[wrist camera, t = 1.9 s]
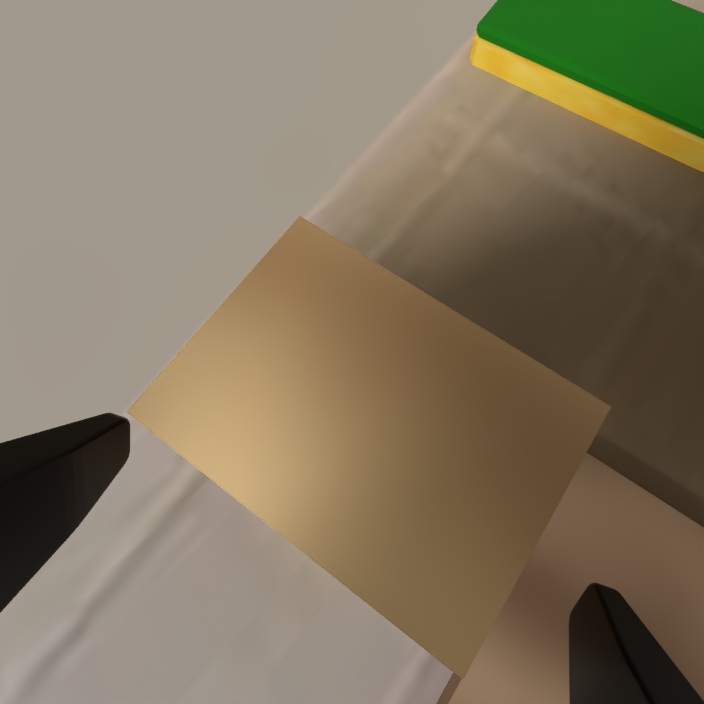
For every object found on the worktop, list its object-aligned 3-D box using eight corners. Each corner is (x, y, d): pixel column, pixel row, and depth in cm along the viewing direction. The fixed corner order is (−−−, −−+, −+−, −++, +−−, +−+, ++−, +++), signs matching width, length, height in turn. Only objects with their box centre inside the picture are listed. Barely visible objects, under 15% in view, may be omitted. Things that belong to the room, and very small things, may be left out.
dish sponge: (716, 188, 23) (756, 150, 21) (464, 69, 26) (475, 25, 23) (766, 94, 25) (807, 51, 23) (526, -7, 28) (541, -54, 25)
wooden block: (392, 577, 17) (463, 679, 6) (271, 483, 18) (126, 412, 7) (458, 470, 18) (626, 378, 7) (341, 389, 19) (318, 195, 8)
